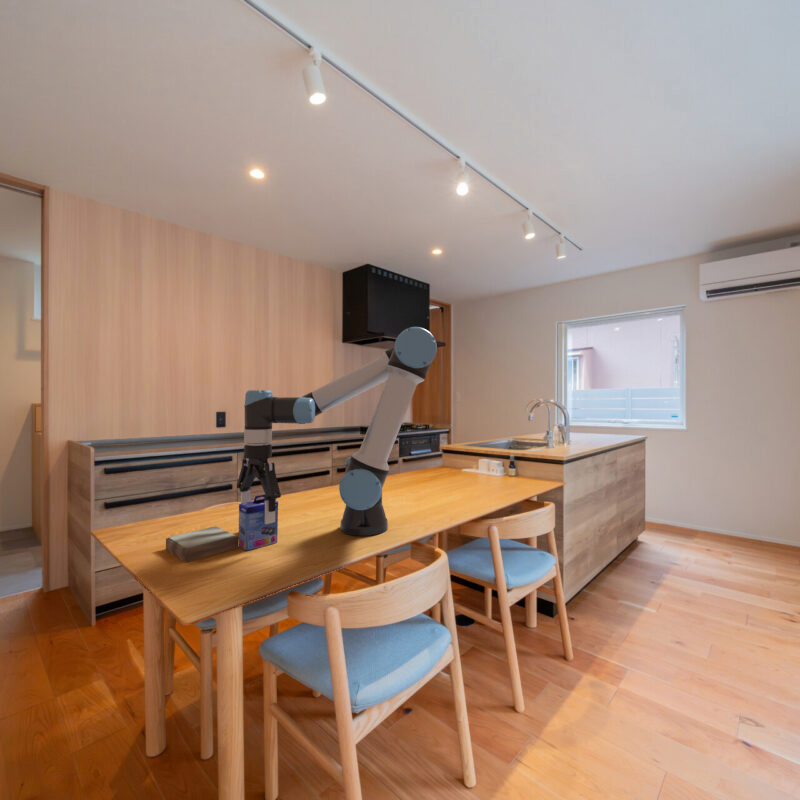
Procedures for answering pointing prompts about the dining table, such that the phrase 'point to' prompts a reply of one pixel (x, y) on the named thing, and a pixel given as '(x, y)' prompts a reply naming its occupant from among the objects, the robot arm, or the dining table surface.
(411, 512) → the dining table surface
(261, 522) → the ink cartridge box
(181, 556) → the podium
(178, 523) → the dining table surface
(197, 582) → the dining table surface
